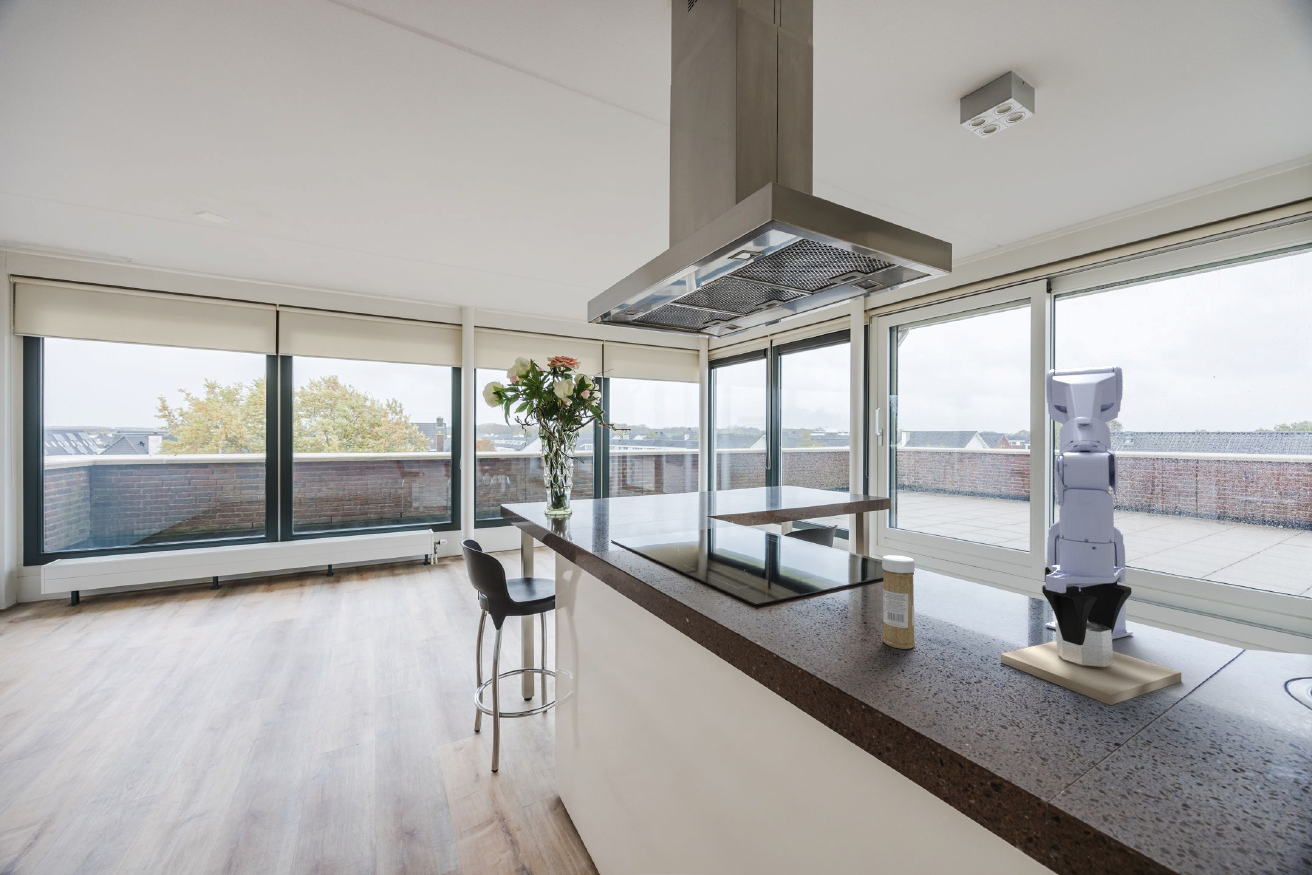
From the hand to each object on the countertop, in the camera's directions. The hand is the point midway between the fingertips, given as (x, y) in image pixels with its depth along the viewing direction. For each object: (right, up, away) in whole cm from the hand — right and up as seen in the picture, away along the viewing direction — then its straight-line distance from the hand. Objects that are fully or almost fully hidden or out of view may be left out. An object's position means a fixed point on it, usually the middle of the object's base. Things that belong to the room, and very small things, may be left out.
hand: (1087, 639), depth 70 cm
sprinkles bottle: (-21, -5, +9) cm, 24 cm away
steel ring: (0, -3, 0) cm, 3 cm away
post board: (0, -4, 0) cm, 4 cm away
